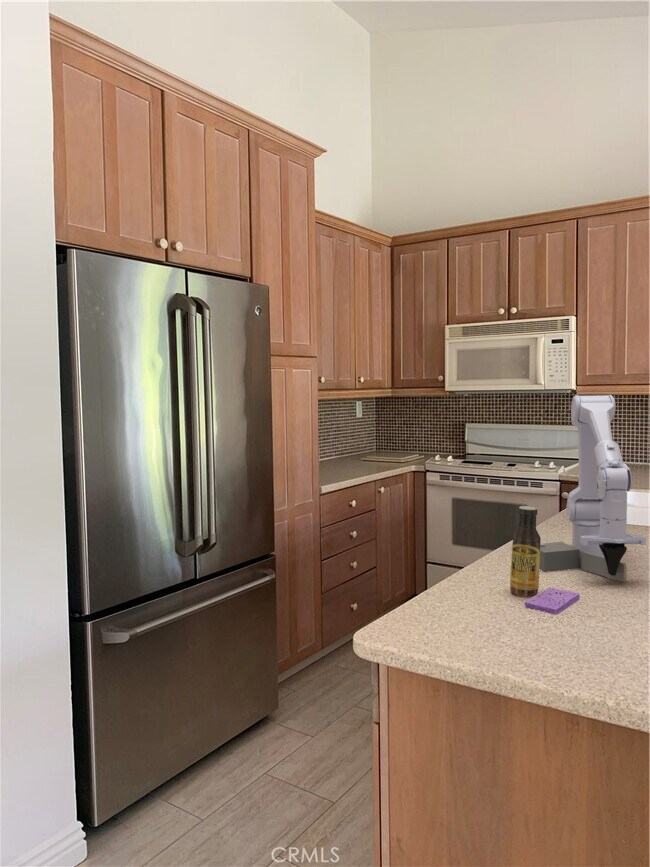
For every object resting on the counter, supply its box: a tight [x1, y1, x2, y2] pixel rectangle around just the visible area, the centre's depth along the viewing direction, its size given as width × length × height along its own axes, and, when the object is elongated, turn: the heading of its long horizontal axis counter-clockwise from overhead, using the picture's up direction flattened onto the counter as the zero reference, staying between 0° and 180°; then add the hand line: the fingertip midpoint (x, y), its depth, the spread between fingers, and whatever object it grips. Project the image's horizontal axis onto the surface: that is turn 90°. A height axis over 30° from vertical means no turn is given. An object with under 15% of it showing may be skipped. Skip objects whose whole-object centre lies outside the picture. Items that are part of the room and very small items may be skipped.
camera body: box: [539, 541, 580, 573], centre depth 170 cm, size 11×8×6 cm
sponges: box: [524, 586, 580, 615], centre depth 143 cm, size 7×13×2 cm, turn 137°
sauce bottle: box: [509, 505, 541, 598], centre depth 148 cm, size 7×6×20 cm
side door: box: [579, 551, 628, 583], centre depth 161 cm, size 14×1×4 cm, turn 27°
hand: (612, 574), depth 155 cm, fingers closed
